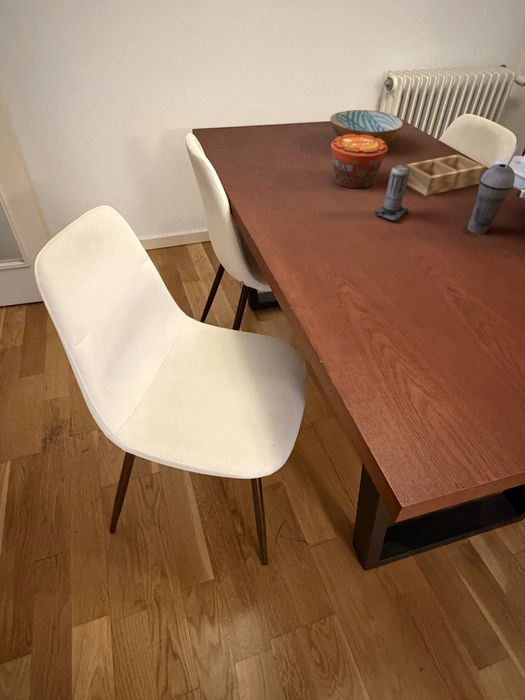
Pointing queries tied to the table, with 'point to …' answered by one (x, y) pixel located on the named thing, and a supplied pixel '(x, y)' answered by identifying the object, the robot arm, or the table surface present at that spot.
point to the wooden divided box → (443, 174)
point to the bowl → (366, 124)
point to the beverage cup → (491, 195)
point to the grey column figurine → (395, 194)
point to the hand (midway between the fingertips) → (504, 185)
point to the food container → (357, 160)
